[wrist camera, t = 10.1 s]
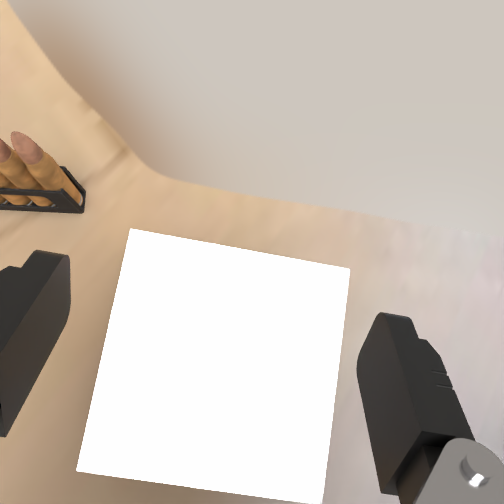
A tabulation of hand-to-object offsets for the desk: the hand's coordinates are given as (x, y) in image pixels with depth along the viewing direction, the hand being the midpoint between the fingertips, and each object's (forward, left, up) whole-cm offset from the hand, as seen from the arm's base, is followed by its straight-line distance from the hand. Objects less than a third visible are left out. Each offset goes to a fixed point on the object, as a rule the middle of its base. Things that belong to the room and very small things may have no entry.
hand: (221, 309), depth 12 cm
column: (0, +1, -16) cm, 16 cm away
